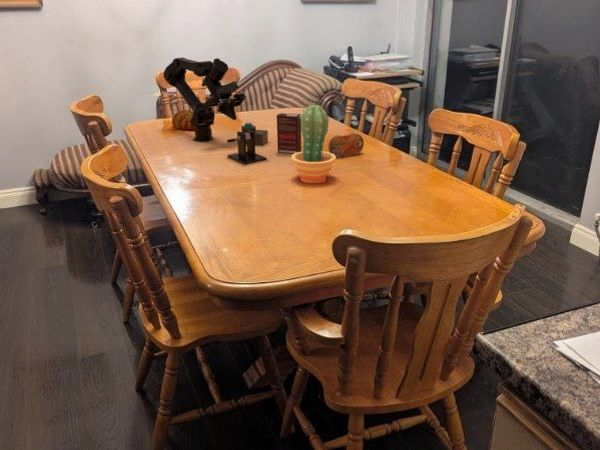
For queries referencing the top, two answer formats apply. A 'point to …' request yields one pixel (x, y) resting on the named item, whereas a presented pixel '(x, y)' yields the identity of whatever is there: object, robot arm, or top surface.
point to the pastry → (182, 120)
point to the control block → (257, 135)
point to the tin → (346, 145)
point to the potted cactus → (313, 146)
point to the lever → (237, 139)
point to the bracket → (249, 155)
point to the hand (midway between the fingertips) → (235, 119)
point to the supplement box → (288, 133)
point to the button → (248, 125)
